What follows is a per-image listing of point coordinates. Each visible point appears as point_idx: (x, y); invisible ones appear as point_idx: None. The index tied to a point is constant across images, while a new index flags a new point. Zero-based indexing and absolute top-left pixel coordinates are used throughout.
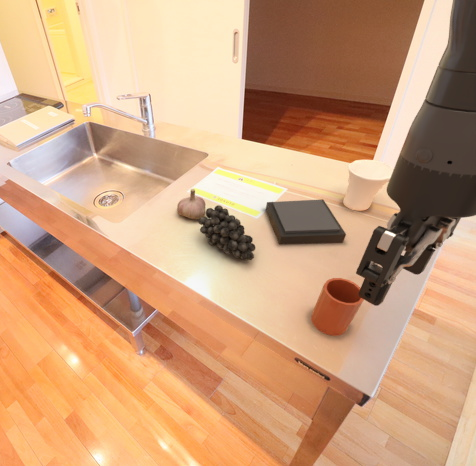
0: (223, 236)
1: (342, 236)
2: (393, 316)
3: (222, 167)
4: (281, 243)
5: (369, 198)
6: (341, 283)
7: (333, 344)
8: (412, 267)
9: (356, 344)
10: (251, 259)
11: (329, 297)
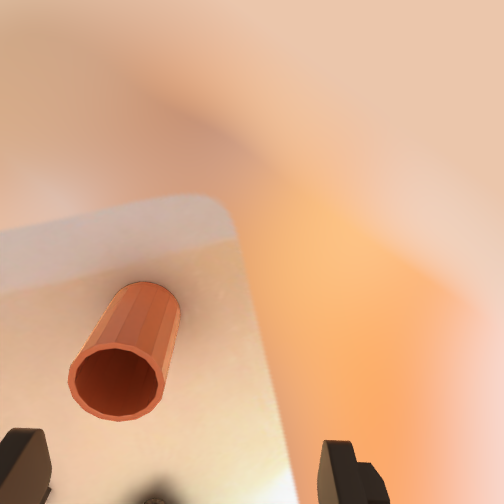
0: None
1: None
2: (9, 246)
3: None
4: (46, 490)
5: None
6: (90, 393)
7: (185, 278)
8: (34, 467)
9: (146, 253)
10: (158, 502)
11: (163, 388)
